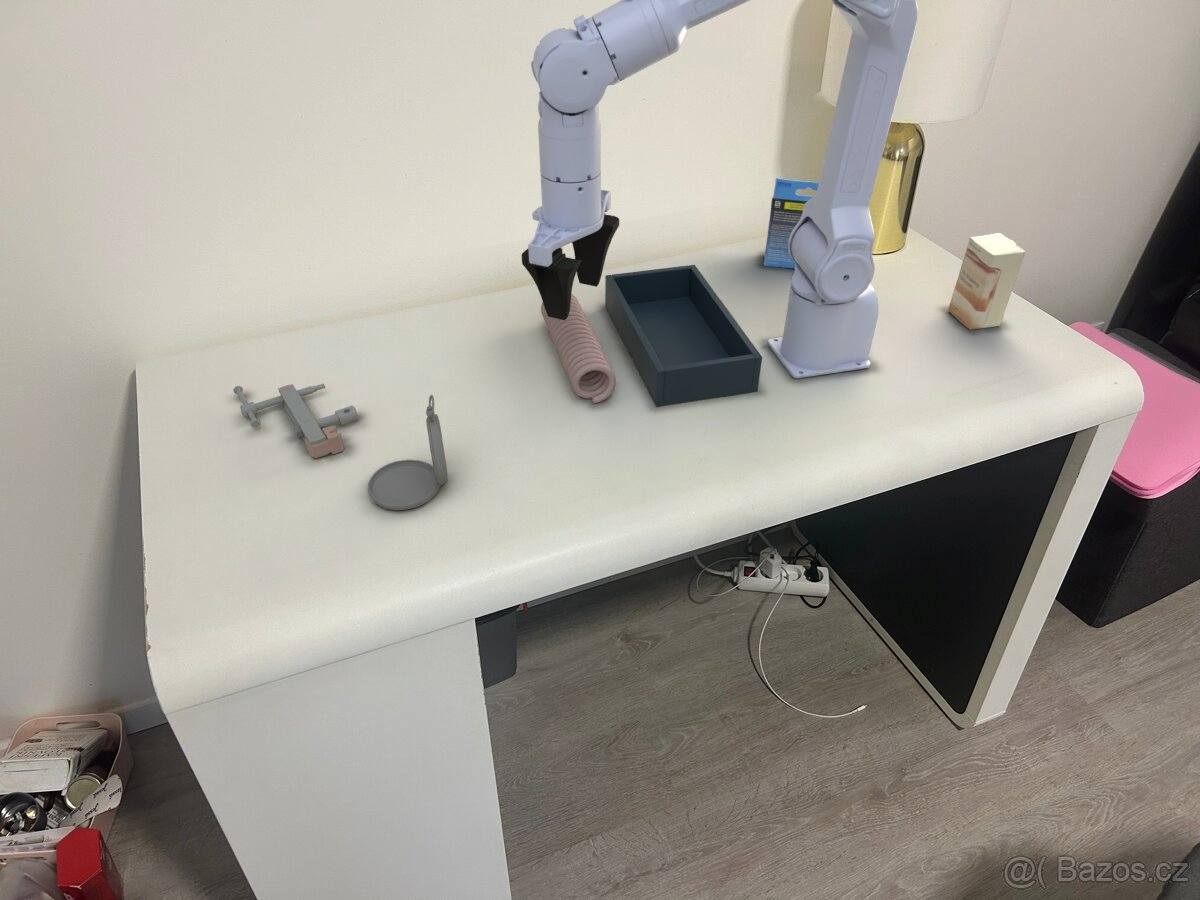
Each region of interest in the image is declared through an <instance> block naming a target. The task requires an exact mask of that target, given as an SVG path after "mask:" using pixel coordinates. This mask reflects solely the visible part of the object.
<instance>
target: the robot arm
mask: <svg viewBox="0 0 1200 900" xmlns="http://www.w3.org/2000/svg"><path fill="white" fill-rule="evenodd" d="M750 1H751V0H619V1H618V2H616V3H613V4H612V5H610V6H608V7H606V8H604V9H603V10H601V11H599V12H597V13H595V14H594V15H592V16H591V17H588V18H586V17H585V15H584V14H581V15H579V16H577V17H576V18H574V19H573V24H574V27H575V29H573V28H570V27H569V28H565V27H562V28H561V27H560V28H556V29H553V30H551V31H549V32H548V33H547V34H545V35H544V36H543V37H542V38H541V39H540V41H539V43H538V45H536V47H535V50H534V52H533V58H532V60H531V62H530V66H531V67H530V68H531V71H532V74H533V77H534V79H535V81H536V83H537V84H538V88H539V92H538V98H539V99H538V103H537V112H538V115H539V120H538V122H537V132H538V133H537V135H538V151H539V152H538V153H539V172H540V173H539V174H540V190H541V191H540V192H541V193H540V194H541V206H539V207H537V208H535V210H533V211H532V212H531V216H532V220H533V221H536V222H538V224H537V226H536V229H535V234H534V237H533V239H532V240H531V241H530V242H529V243H528V245H527V248H526V249H525V250H524V251H523V252H522V253H521V264H522V266H523V267H524V268H525V269H526V271H527V272H528V274H529V275H530V276H531V278H532V280H533V281H534V284H535V285H536V287H537V289H538V292H539V295H540V298H541V301H542V302H543V304H544V307H545V310H546V313H547V316H548V317H552V318H556V319H561V320H566V319H567V318H568V315H569V311H570V305H571V294H573V293H572V291H573V286H574V281H575V277H576V276H577V279H578V283H579V284H582V285H586V286H591V287H594V288H596V287H598V286H599V285H600V282H601V278H602V276H603V272H604V271H603V270H604V266H605V262H606V258H607V255H608V251H609V248H610V245H611V242H612V240H613V238H614V236H615V234H616V232H617V230H618V229H619V227H620V218H619V217H618V216H617V215H616V216H615V215H612V214H606V213H607V212H609V211H610V210H611V201H612V200H611V199H612V198H611V195H612V192H611V191H610V190H606V189H602V167H601V166H602V160H601V159H602V155H601V154H602V151H601V149H602V147H601V145H602V143H601V140H602V139H601V136H602V132H601V129H602V128H601V125H602V124H601V120H600V116H599V115H600V112H599V111H600V110H599V109H600V107H599V105H600V104H599V103H600V102H601V100H602V98H603V97H604V95H605V92H606V90H607V88H608V86H615V85H616V84H618V83H620V82H622V81H624V80H626V79H629V78H630V77H632V76H633V75H636V74H637V73H640V72H642V71H644V70H646V69H647V68H649V67H651V66H653V65H655V64H657V63H658V62H660V61H662V60H664V59H667V58H668V57H670V56H672V55H674V54H676V53H678V52H679V50H680V49H681V46H682V43H683V41H684V38H685V36H686V34H687V32H688V30H689V29H691V28H694V27H697V26H698V25H700V24H703V23H705V22H707V21H709V20H711V19H713V18H717V17H718V16H720V15H722V14H724V13H727V12H728V11H730V10H733V9H736V8H737V7H739V6H741V5H743V4H745V3H748V2H750ZM831 1H832V4H833V5H834V6H835V8H836V9H837V11H838V12H839V13H840V14H841V16H842V18H843V19H844V20H845V21H846V22H847V24H848V26H850V28H851V35H850V39H849V44H848V49H847V54H846V59H845V63H844V68H843V72H842V76H841V81H840V85H839V90H838V95H837V99H836V103H835V108H834V113H833V117H832V120H831V121H832V122H831V127H830V130H829V136H828V140H827V145H826V149H825V154H824V158H823V163H822V166H821V172H820V176H819V180H818V182H819V185H818V190H817V192H816V194H814V195H813V196H814V197H813V198H811V199H810V200H808V201H807V202H806V203H805V205H804V209H803V213H802V216H801V218H800V220H799V222H798V223H797V225H796V226H795V227H794V229H793V230H792V232H791V234H790V237H789V241H788V250H789V254H790V256H791V257H792V259H793V260H794V261H795V262H796V264H795V268H794V271H793V274H792V277H791V280H790V287H789V294H788V301H787V305H786V306H787V308H786V314H785V320H784V326H783V331H782V332H783V333H782V336H781V337H775V338H769V339H768V340H767V345H768V346H769V348H770V349H771V350H772V352H773V353H774V354H775V356H776V357H777V358H778V360H779V361H780V362H781V363H782V365H783V366H784V368H785V369H786V370H787V371H788V373H789V374H790V375H791V377H793V378H794V379H803V378H804V379H805V378H809V377H816V376H822V375H829V374H836V373H842V372H843V373H844V372H849V371H856V370H862V369H868V368H870V367H871V366H872V363H871V361H870V360H869V356H870V352H871V349H872V344H873V339H874V336H875V330H876V327H877V323H878V317H879V300H878V296H877V293H876V290H875V289H874V287H873V286H872V284H871V283H872V281H873V280H874V275H875V271H876V270H875V269H876V268H875V262H874V257H873V248H874V243H875V240H876V237H875V236H876V235H875V231H874V225H873V222H872V217H871V212H870V203H871V200H872V197H873V192H874V188H875V184H876V180H877V177H878V173H879V169H880V165H881V161H882V157H883V154H884V150H885V146H886V142H887V138H888V134H889V131H890V127H891V123H892V120H893V115H894V112H895V109H896V104H897V101H898V97H899V93H900V89H901V85H902V82H903V78H904V74H905V70H906V66H907V64H908V63H907V62H908V58H909V55H910V51H911V47H912V44H913V40H914V36H915V31H916V28H917V24H918V19H919V7H918V3H917V0H831ZM569 244H572V247H573V248H572V249H573V253H574V254H573V255H574V258H571V257H567V255H566V253H565V252H563V247H565V246H566V245H569Z"/></svg>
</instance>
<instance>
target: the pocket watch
mask: <svg viewBox="0 0 1200 900" xmlns="http://www.w3.org/2000/svg"><path fill="white" fill-rule="evenodd" d="M425 414H426V416H427V417H426V418H425V422H426V430H427V437H428V444H429V450H430V457H431V463H432V465H431V464H430V463H429V462H426V461H423V460H419V459H403V460H396V461H392V462H390V463H387V464H385V465H383V466H382V467H380V468H378V469H377V470H376V471H374V472H373V474H372V475H371V476H370V478H369V480H368V482H367V492H368V495H369V498H370V500H372V502H373V503H375V504H376V505H377V506H379V507H381V508H384V509H386V510H393V511H405V510H410V509H415V508H417V507H420V506H422V505H424V504H426V503H427V502H429V501H431V500H432V498H434V496H435V495H436V494H437V493H438V491H439V489H440V486H444V485H447V484H448V481H449V475H448V467H447V460H446V454H445V453H446V452H445V447H444V440H443V434H442V428H441V427H442V426H441V423H440V419H439V415H438V414H437V413H435V397H434V395H433V394H430V395H429V398H428V406H427V407H426V410H425Z"/></svg>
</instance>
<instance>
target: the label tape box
mask: <svg viewBox="0 0 1200 900" xmlns="http://www.w3.org/2000/svg"><path fill="white" fill-rule="evenodd" d="M774 181H775V182H774V188H773V195H772V198H771V203H770V214H769V221H768V228H767V234H766V241H765V242H766V243H765V249H764V258H763V266H765V267H773V268H783V269H795V264H796V262H795V261H794V260H793V259H792V257H791V256H790V254H789V250H788V241H789V237H790V234H791V232H792V230H793V229H794V227H795V226H796V225H797V223H798V222H799V220H800V218H801V216H802V213H803V209H804V205H805V203H806V202H807V201H808V200H810V199H811V198H813V197H814V196H815V195H805V194H798V193H797V191H806V190H807V189H809V190H810V191H811V192H816V193H817V190H818V185H819V181H818V182H817V181H807V180H798V179H797V180H796V179H787V178H780V177H775V180H774Z"/></svg>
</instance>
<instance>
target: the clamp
mask: <svg viewBox="0 0 1200 900" xmlns="http://www.w3.org/2000/svg"><path fill="white" fill-rule="evenodd" d="M324 389H326V385H325V383H321V384H317V385H313V386H311V385H310V386H307V387H303V388H301V389H297V388H296V387H295V385H294V384H293V383H292V384H291V383H290V384H287V385H284V386H283V385H282V386H281V387H278V388H277V390H278V393H279V394H280V395H278V396H275V397H271V398H268V399H265V400H262V401H259V402H254V401H251V402H248V400H247V398H246V396H245V395H244V392H243V391H244V388H243V386H241V385H236V386H234V387H233V389H232V391H233V393H234V394H236V395H237V396H238V398H239V400H240V402H241V404H240V406H239V409H240V412H241V414H242V416H243V417H244V418H248V417H249V419H250V426H251V427H252V428H258V427H260V426H261V420H260V419H258V418H257V417H256V415H257V414H258V412H259V411H262V410H265V409H267V408H270V407H274V406H277V405H280V404H282V406H283V408H284V409H285V411H286V413H287V415H288V416H289V418H290V420H291V421H292V423H293V425H294V427H293V430H294V433H295V435H296V437H297V438H300V437H301V438H302V440H303V442H304V443H305V446H306V450H307V452H308V453H309V456H310V457H311V458H314V459H319V458H322V457H325V456H327V455H330V454H331V455H336V454H338V453H339V454H340V453H341V452H343V451H344V450H345V445H344V442H343V439H342V434H341V432H338V430H337V424H340V426H343V425H346V424H349V423H352V422H355V421H357V420H359V415H358V412H357V408H356V407H355V406H354V405H349V406H346V407H343V408H340V409H337V410H335V411H334V414H331V415H328V416H325V417H322V418H319V419H315V417H314V416H313V414H312V413H311V411H310V410H309V407H308V406H307V405H306V403H305V402H304V401H305V400H303V398H302V397H305V396H308V395H311V394H314V393H315V392H317V391H320V390H324Z"/></svg>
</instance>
